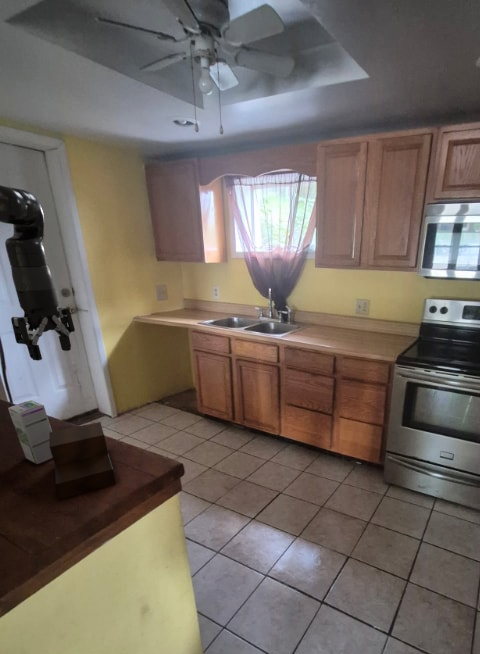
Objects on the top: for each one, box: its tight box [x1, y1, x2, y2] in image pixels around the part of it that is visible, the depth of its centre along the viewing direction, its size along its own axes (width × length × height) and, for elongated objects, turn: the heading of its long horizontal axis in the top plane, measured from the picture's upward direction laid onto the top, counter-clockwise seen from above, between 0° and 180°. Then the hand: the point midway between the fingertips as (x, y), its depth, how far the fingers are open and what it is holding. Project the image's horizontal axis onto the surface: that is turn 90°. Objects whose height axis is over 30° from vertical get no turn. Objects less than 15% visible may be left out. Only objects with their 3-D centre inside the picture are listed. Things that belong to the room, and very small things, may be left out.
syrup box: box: [8, 400, 53, 465], centre depth 92 cm, size 6×6×14 cm
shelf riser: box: [50, 421, 117, 500], centre depth 87 cm, size 11×16×9 cm
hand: (52, 355), depth 91 cm, fingers open, 8 cm apart
